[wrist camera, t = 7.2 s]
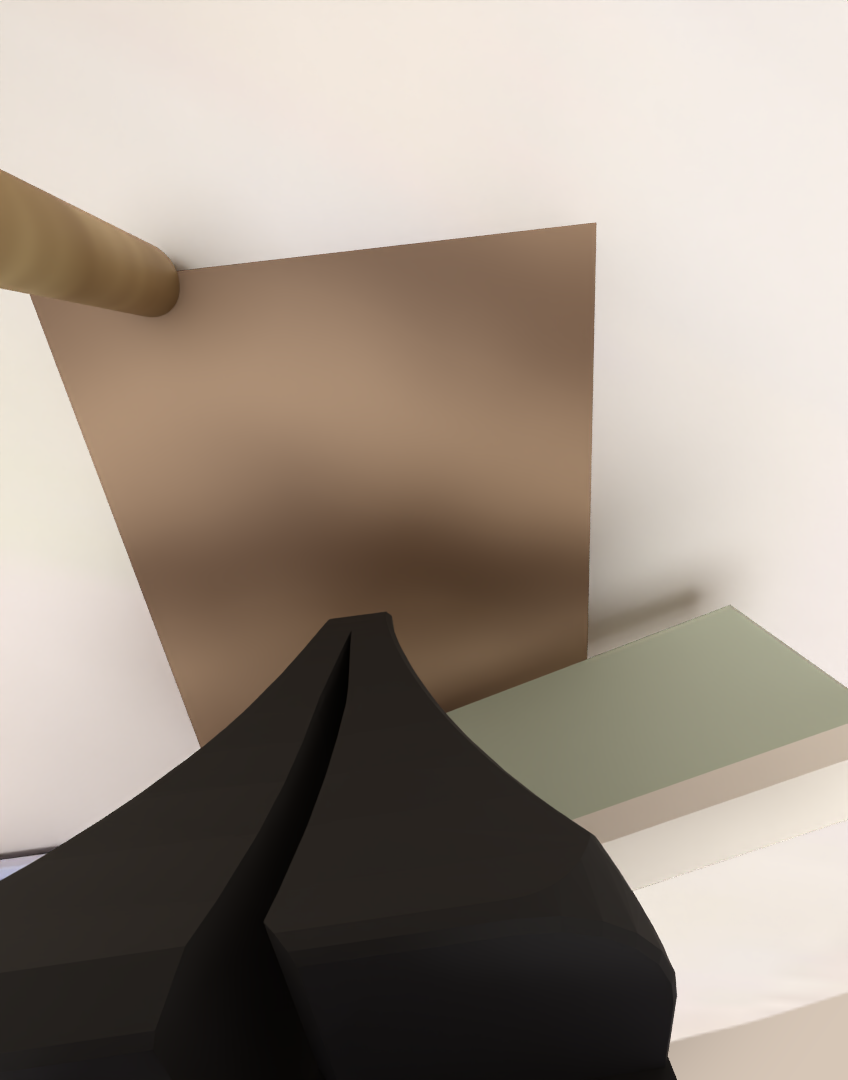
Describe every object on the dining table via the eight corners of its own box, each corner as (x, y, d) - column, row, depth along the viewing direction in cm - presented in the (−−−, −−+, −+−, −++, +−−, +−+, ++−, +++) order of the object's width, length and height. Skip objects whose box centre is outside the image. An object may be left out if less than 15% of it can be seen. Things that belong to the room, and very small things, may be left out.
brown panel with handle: (574, 733, 16) (697, 985, 10) (232, 779, 16) (119, 1069, 9) (578, 204, 10) (889, -67, 4) (49, 265, 10) (-561, 87, 4)
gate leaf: (383, 772, 14) (379, 975, 9) (361, 736, 13) (344, 932, 9) (740, 639, 13) (932, 791, 8) (732, 594, 13) (933, 730, 8)
